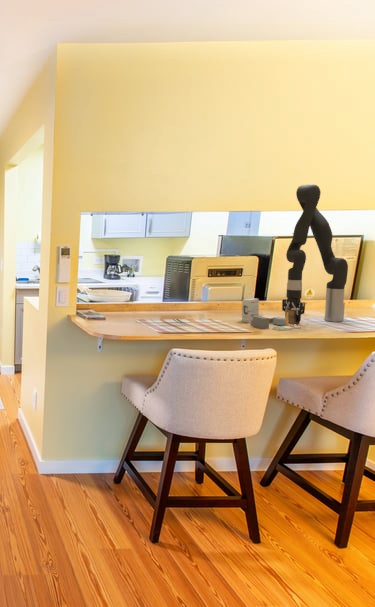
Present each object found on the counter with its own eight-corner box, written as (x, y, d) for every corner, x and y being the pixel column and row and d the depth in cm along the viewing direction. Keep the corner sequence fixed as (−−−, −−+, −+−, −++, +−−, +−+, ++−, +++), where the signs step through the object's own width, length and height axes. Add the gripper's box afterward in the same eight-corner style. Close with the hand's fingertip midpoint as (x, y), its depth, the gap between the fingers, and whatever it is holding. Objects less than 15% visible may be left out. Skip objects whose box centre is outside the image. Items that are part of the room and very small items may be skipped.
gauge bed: (275, 322, 298) (276, 312, 298) (301, 327, 284) (302, 317, 283) (248, 325, 288) (249, 315, 287) (274, 331, 273) (274, 320, 272)
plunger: (278, 322, 294) (279, 309, 293) (298, 327, 284) (298, 313, 283) (272, 323, 292) (273, 309, 291) (292, 328, 281) (293, 313, 280)
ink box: (249, 323, 294) (250, 300, 292) (241, 321, 297) (242, 299, 295) (258, 321, 300) (259, 298, 299) (250, 320, 303) (251, 297, 302)
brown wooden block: (292, 322, 299) (293, 309, 298) (299, 324, 295) (300, 310, 294) (285, 323, 296) (286, 309, 295) (292, 324, 292) (293, 311, 291)
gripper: (310, 289, 289) (308, 322, 292) (289, 286, 301) (287, 318, 303) (299, 290, 285) (297, 323, 287) (278, 287, 296) (277, 319, 299)
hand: (292, 320), depth 295 cm, fingers open, 7 cm apart
